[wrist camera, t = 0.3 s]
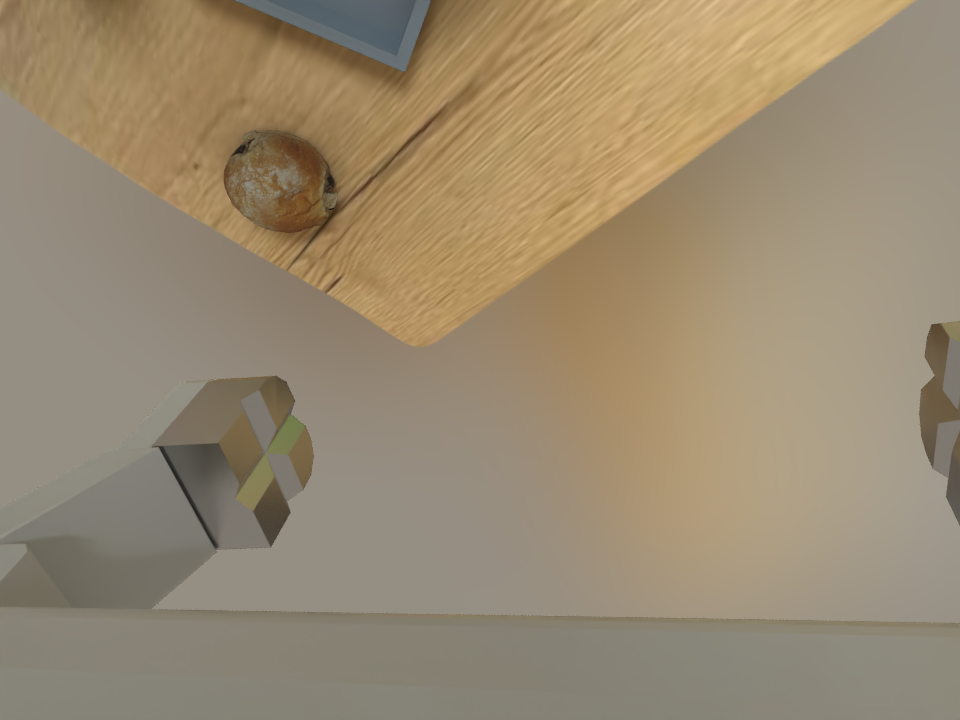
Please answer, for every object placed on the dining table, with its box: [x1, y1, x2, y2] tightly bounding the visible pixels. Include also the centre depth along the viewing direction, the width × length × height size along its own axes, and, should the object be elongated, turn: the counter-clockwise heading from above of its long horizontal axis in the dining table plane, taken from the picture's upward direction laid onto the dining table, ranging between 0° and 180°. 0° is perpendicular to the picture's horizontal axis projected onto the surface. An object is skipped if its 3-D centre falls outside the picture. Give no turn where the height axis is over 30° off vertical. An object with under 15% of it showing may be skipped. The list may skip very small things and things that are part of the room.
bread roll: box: [224, 131, 338, 233], centre depth 70 cm, size 10×10×8 cm
